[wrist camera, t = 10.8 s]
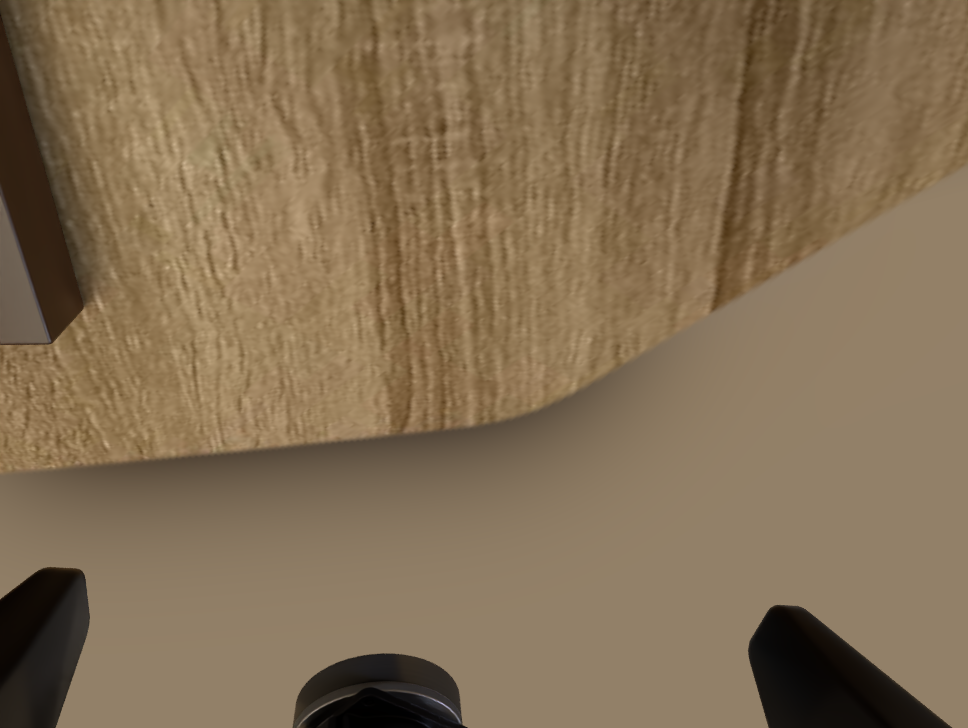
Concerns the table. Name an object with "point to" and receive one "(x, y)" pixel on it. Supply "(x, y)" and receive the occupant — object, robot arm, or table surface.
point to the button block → (29, 228)
